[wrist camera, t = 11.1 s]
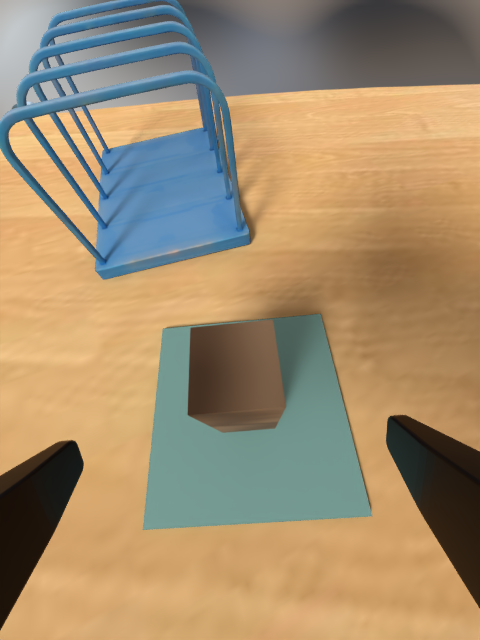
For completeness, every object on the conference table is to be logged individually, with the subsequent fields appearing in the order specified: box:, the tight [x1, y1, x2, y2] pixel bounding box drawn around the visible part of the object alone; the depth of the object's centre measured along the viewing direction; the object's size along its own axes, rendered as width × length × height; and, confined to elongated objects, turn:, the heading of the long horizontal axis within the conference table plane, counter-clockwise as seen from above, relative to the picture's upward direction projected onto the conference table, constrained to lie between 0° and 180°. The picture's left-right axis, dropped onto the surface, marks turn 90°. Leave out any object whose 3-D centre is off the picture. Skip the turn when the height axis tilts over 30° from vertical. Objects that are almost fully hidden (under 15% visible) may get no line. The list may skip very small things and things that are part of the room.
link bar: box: [187, 320, 286, 433], centre depth 15 cm, size 4×4×10 cm
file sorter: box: [0, 0, 251, 279], centre depth 27 cm, size 25×17×15 cm
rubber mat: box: [143, 314, 372, 530], centre depth 20 cm, size 15×15×1 cm
